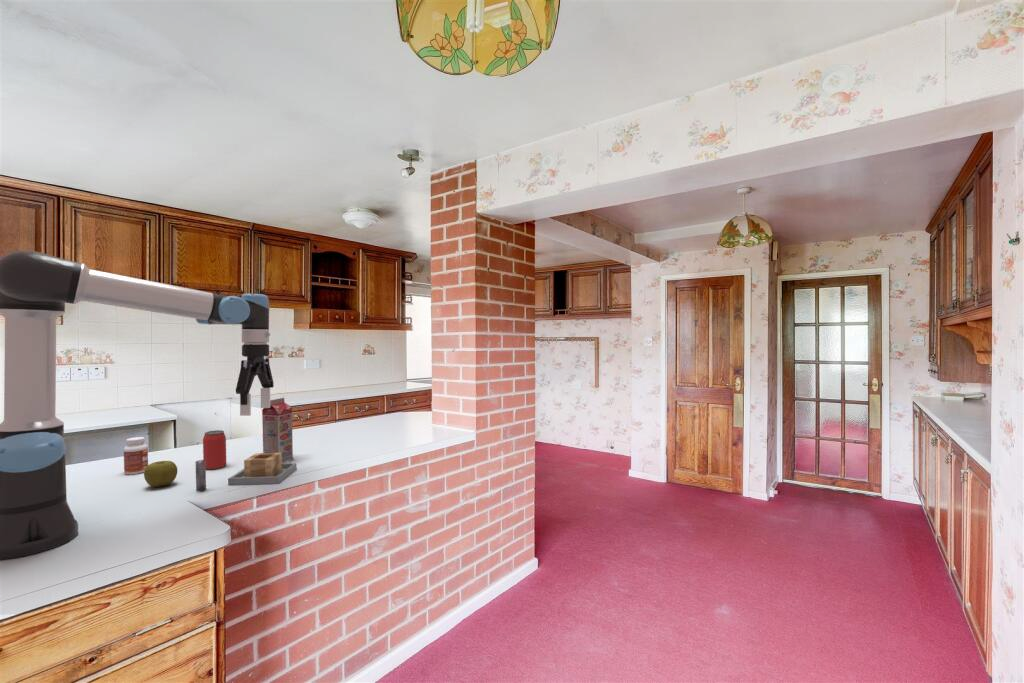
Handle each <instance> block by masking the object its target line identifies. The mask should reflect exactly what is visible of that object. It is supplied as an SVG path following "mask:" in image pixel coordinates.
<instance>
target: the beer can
mask: <svg viewBox="0 0 1024 683" xmlns="http://www.w3.org/2000/svg"><path fill="white" fill-rule="evenodd" d="M226 436H227V435H226V434H225V431H224V430H220V429H219V430H209V431H206V432H204V435H203V437H202V449H203V450H202V455H203V456H202V457H203V459H202V460H205V465H206V470H208V471H209V470H211V471H212V470H218V469H223V468H224V467H226V466H227V437H226Z"/></svg>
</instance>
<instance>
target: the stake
mask: <svg viewBox="0 0 1024 683" xmlns="http://www.w3.org/2000/svg"><path fill="white" fill-rule="evenodd" d="M206 470H207V469H206V465H205V460H203V459H200V460H196V461H195V491H196V492H197V491H200V492H204V491H206V490H207V476H206V475H207V474H206Z"/></svg>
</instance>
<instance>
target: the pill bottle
mask: <svg viewBox="0 0 1024 683" xmlns="http://www.w3.org/2000/svg"><path fill="white" fill-rule="evenodd" d="M145 440H146V439H145V436H136V437H130V438H127V439H126V440H125V441H126V445H125V447H123V470H124V474H125V475H138V474H142V473H143V474H144V471H145V469H146V467H147V466H148V465H149V454H148V453H149V450H148V444H146V443H145Z"/></svg>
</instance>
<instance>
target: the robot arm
mask: <svg viewBox="0 0 1024 683" xmlns="http://www.w3.org/2000/svg"><path fill="white" fill-rule="evenodd" d="M81 302H88V303H94V304H101V305H107V306H114V307H120V308H127V309H133V310H138V311H146V312H151V313H156V314H157V313H159V314H167V315H171V316H176V317H178V316H179V317H185V318H189V319H190V318H191V319H195V321H196V323H198V324H200V325H201V324H202V325H205V324H206V325H241V343H243V344H242V345H241V355H242V357H244V358H245V357H246V360H241V361H240V362H241V363H240V371H239V375H238V378H237V383H236V386H235V393H236V394H237V395H239V416H241V417H242V416H244V417H245V416H252V410H251V409H252V403H251V402H252V399H251V398H252V397H251V396H252V393H250V391H251V388H252V385H253V382H254V380H255V377H256V376H257V378H258V381H259V382H260V383H259V384H260V385H261V388H260V409H264V408H270V400H271V388H274V378H273V375H272V370H271V366H270V358H269V357H268V356H270V345H269V342H270V336H271V333H270V309H271V308H270V302H269V297H268V295H266V294H263V293H243V294H241V297H240V296H237V295H225V294H224V295H222V294H218V293H212V292H210V291H204V290H199V289H193V288H189V287H182V286H178V285H173V284H168V283H163V282H159V281H158V282H157V281H153V280H148V279H147V280H146V279H142V278H139V277H138V278H137V277H132V276H128V275H127V276H126V275H122V274H118V273H117V274H116V273H111V272H106V271H101V270H95V269H91V268H89V267H88V266H87V265H86V264H85V263H83V262H77V261H73V260H68V259H65V258H62V257H58V256H53V255H52V254H51V255H50V254H46V253H43V252H40V251H37V250H34V251H33V250H18V251H16V250H15V251H13V252H10V253H7V254H5V255H3V256H1V257H0V315H1V316H2V317H3V318H4V367H3V368H4V372H3V373H4V374H3V375H4V377H3V378H4V379H3V381H4V382H3V384H4V385H3V386H4V390H3V392H4V393H3V394H4V395H3V396H4V398H3V402H4V403H3V416H4V417H3V421H2V422H1V423H0V560H8V559H9V560H10V559H15V558H20V557H25V556H30V555H33V554H39V553H41V552H45V551H47V550H52V549H53V548H57V547H59V546H61V545H63V544H66V543H68V542H69V541H71V540H73V539H75V538H76V537H77V535H78V534H79V524H78V521H77V520H76V518H75V516H74V514H73V512H72V510H71V507H70V506H69V503H68V499H67V498H68V497H67V473H66V472H67V470H66V466H67V465H66V453H67V452H66V451H67V445H66V443H65V439H64V438H65V433H64V432H65V428H64V427H65V426H64V424H65V423H64V421H62V420H61V419H59V418H57V416H56V398H57V397H56V386H57V383H56V382H57V381H56V380H57V379H56V378H57V376H56V374H57V320H58V318H60V317H61V316H62V315H64V314H65V313H66V303H67V304H73V305H76V304H78V303H81Z"/></svg>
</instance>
